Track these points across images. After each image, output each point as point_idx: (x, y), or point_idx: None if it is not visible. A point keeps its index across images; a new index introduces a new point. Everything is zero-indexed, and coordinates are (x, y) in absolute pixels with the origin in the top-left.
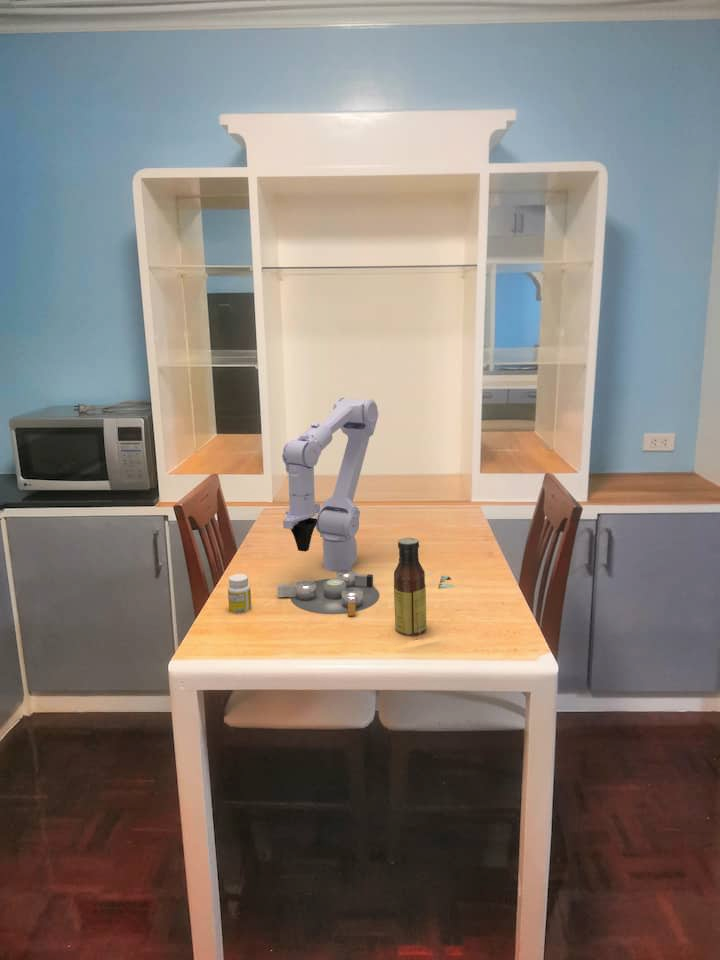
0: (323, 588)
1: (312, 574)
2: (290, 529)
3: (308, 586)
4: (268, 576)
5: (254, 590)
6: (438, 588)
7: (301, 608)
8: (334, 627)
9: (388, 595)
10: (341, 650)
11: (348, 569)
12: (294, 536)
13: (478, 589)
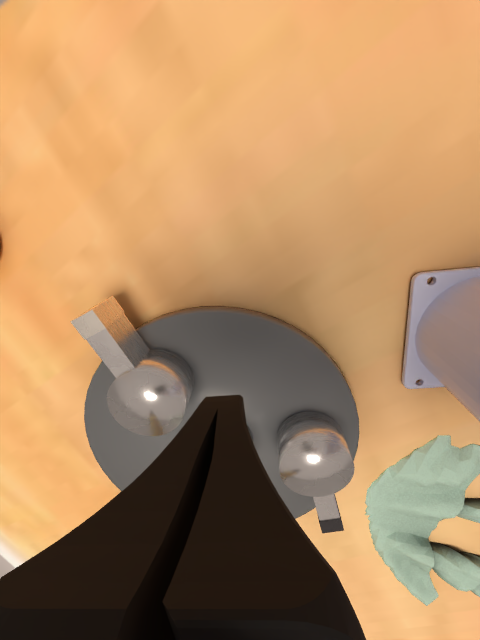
0: (249, 390)
1: (400, 258)
2: (63, 538)
3: (135, 421)
4: (307, 77)
5: (140, 135)
6: (403, 584)
7: (86, 405)
8: (88, 486)
9: (315, 517)
10: (21, 529)
11: (352, 464)
12: (144, 475)
13: (424, 634)
